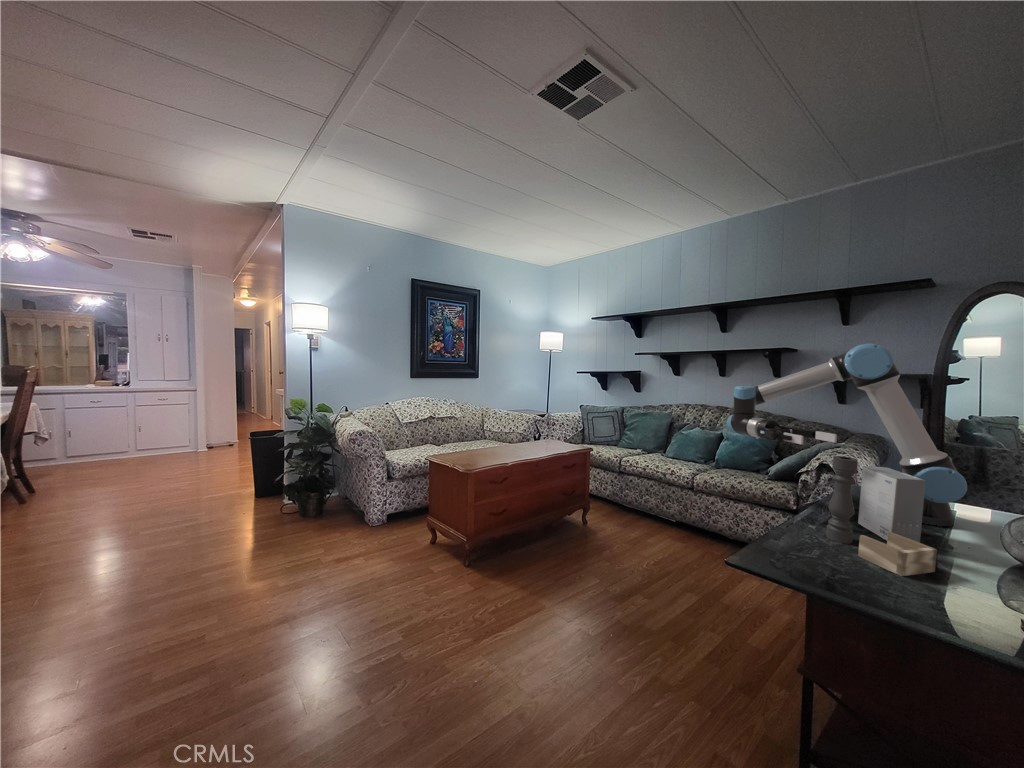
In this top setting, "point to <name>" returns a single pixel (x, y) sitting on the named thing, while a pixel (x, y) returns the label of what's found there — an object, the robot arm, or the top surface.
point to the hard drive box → (891, 502)
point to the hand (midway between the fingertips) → (819, 439)
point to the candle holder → (842, 500)
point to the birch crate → (898, 554)
